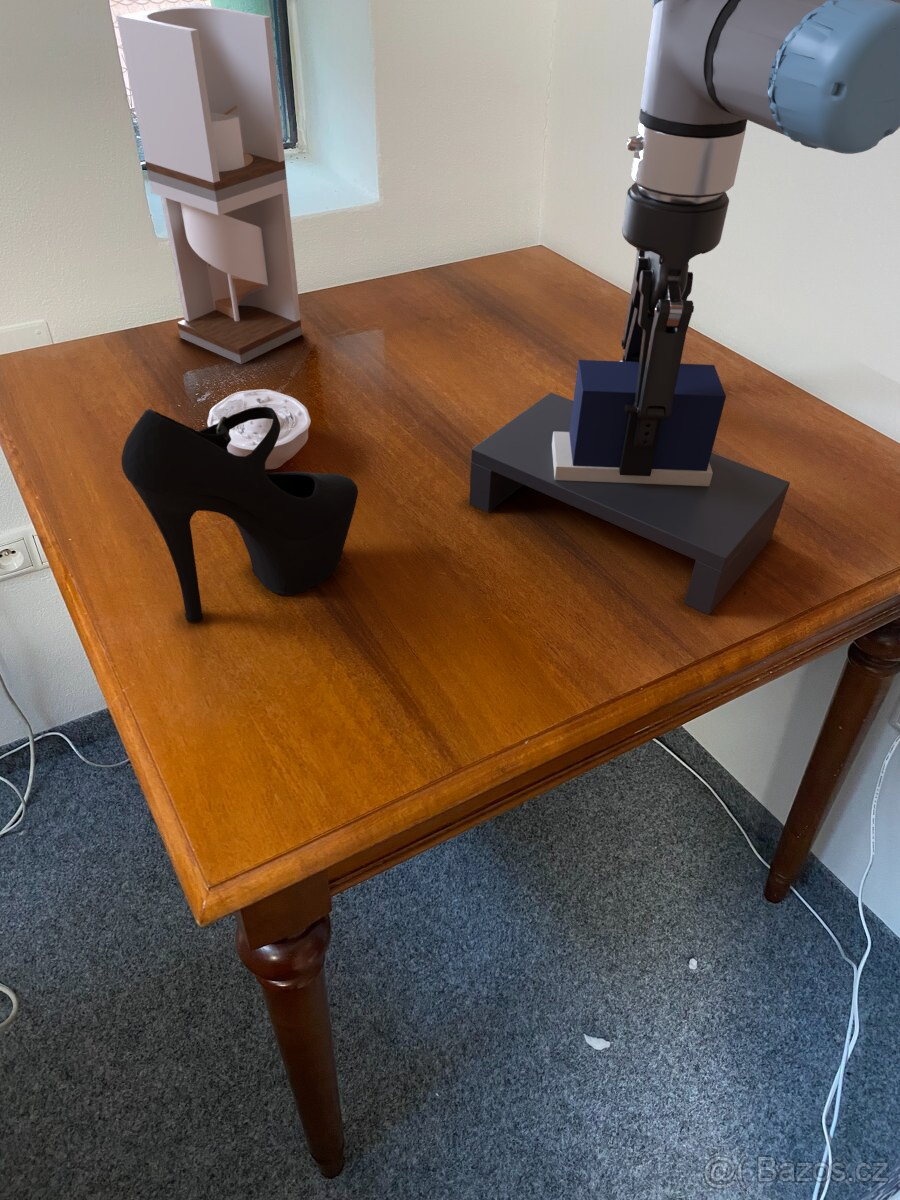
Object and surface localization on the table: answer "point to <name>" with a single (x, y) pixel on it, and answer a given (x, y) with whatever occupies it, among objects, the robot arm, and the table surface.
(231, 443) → the cell model
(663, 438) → the navy block on base
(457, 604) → the table surface
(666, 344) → the robot arm
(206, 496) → the high-heeled shoe
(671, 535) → the shoe shelf
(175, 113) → the white architectural model
